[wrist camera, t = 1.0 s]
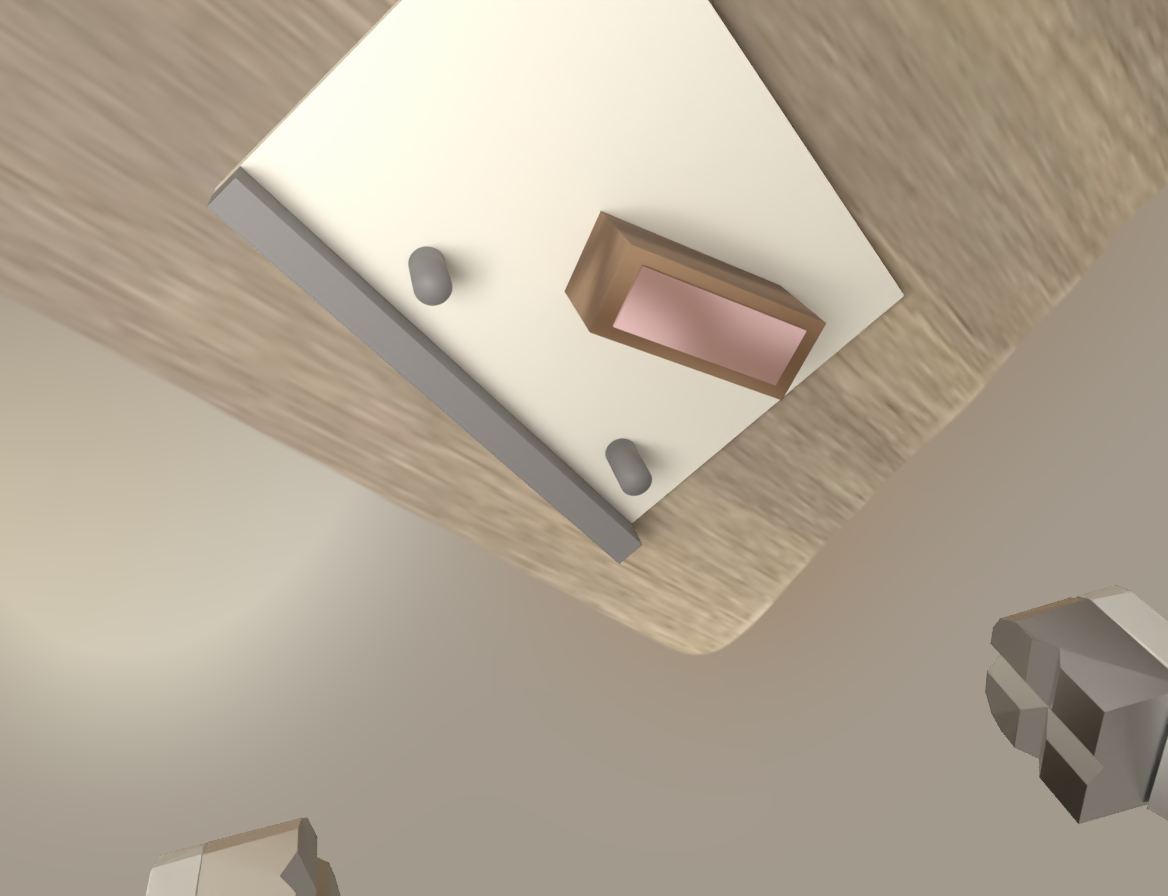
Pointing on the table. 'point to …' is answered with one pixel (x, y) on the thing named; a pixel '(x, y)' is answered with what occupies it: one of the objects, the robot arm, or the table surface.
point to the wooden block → (690, 308)
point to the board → (549, 226)
